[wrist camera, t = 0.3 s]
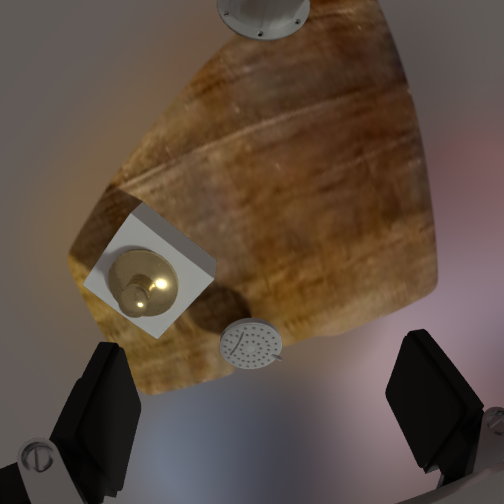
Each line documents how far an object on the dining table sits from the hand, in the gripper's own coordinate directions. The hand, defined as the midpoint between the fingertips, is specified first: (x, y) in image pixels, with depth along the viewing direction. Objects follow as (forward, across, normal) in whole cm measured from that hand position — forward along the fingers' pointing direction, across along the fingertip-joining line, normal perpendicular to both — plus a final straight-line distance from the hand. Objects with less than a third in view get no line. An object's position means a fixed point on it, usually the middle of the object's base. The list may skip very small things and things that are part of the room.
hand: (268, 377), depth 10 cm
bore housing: (+36, +14, +12) cm, 41 cm away
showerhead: (+37, -1, +23) cm, 44 cm away
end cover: (+35, +14, +12) cm, 39 cm away
